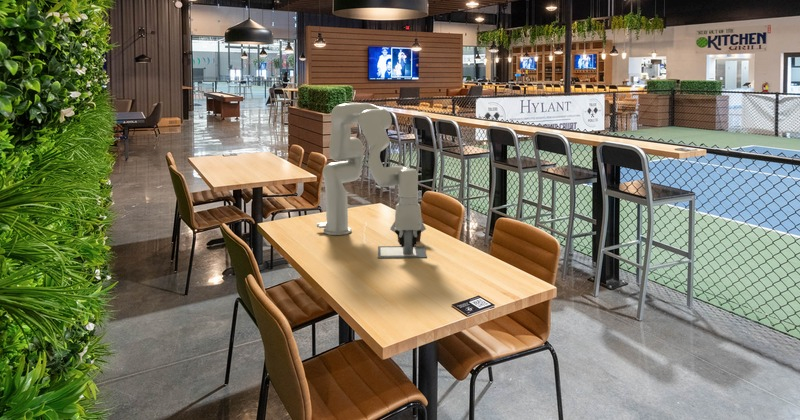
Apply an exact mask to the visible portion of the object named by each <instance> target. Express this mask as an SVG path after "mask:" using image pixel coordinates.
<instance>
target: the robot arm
mask: <svg viewBox="0 0 800 420" xmlns="http://www.w3.org/2000/svg"><path fill="white" fill-rule="evenodd" d="M392 119H393V118H392V115H391V114H390V112H389V111H388V110H387V109H385V108H383V107H381V106H378V105H375V104H372V103H368V102H357V103H340V104H337V105H335V106H334V107H333V109H332V111H331V112H330V123H331V124H330V125H331V129H330V136H329V137H330V139H329V146H328V155H329V158H330V159H331V160H333V161H335V162H329V163H327V164H326V165H325V166H324V167H323V169H322V178H323V182H324V183H323V184H324V187H325V188H324V189H325V209H326V211H325V214H326V215H325V217H326V221H325V222H317V223H316V228H319V229H323V231H322V232H323V233H324V234H326V235H329V236H342V235H343V236H344V235H347V234H348V235H349V234H350V233H352V228H351V227H349V216H348V214H349V212H348V211H349V210H348V192H347V189H346V188H345V186H344V184H346V183H351V182H356V181H357V180H359V178H360V176H361V174H362V166H363V161H364V160H363V159H364V154H365V152H364V150H365V149H364V144H363V142H362V140H361V139H360V138H359V137H354V136H353V137H351V136H352V135H351V134H352V129H351V126H350V125H359V127H360V129H361V132H362V134H363V135H364V137H365V140H366V142H367V144H368V147H369V149H370V151H369V154H368V159H367V160H368V162H367V163H368V169H369V172H370V174H371V176H372V179H373V180H374V182H375V184H377V185H378V186H379V187H382V188H387V187H392V186H393V187H394V186H397V187H398V192H397V193H398V194H397V195H398V196H397V197H395V198H394V202H397V204H396V205H395V214H394V222H393V223H392V225H391V226H390V231H392V232H393V233H395V234H396V235H398V236H399V237H400V242H399V246H401V247H403V235H402V234H403V230H413V232H414V234H413V247H415V246H416V245H417V244H418V242H417V236H418V235H419V234H420V233H421V234H422V233H423V232H424V231H426V230H427V228H426V226H425V225H424V224H423V223H424V222H423V223H422V221H421V218H422V210H421V205H420V203H419V199H418V198H419V197H418V196H419V172H418V171H417V169H415V168H408V167H406V166H404V165H393V166H386V167H385V166H384V164H383V163H382V161H381V157H380V156H381V155H380V154H381V152H383V151H384V150H385V149H386V148H387V147H388V146H389V145H390V143H391V140H390V137H389V135H388V133H387V131H386V130H387V129H389V128H390V127H391V126H392V124H393V123H392V121H393V120H392ZM398 230H399V231H398ZM416 230H417V231H416ZM398 236H397V237H398Z"/></svg>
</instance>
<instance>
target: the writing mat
mask: <svg viewBox="0 0 800 420" xmlns="http://www.w3.org/2000/svg"><path fill="white" fill-rule="evenodd" d="M427 258H428V256H427V251H426V248H425V245H415V247H413V254H411V255H405V254H403V247H401V245H391V246H390V245H384V246H383V245H380V246H379V245H378V247H377V259H427Z"/></svg>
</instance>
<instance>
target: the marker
mask: <svg viewBox="0 0 800 420" xmlns="http://www.w3.org/2000/svg"><path fill="white" fill-rule="evenodd" d="M403 254H405V255H411V254H413V230H403Z"/></svg>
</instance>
